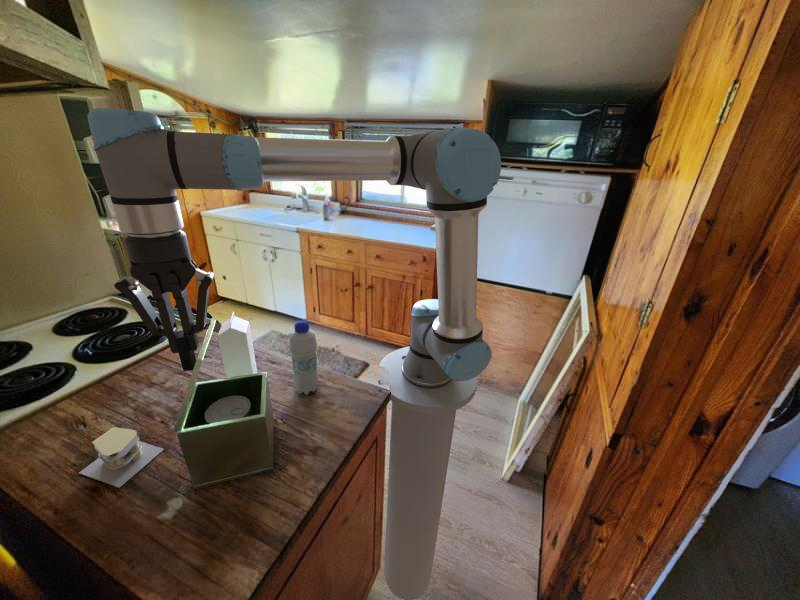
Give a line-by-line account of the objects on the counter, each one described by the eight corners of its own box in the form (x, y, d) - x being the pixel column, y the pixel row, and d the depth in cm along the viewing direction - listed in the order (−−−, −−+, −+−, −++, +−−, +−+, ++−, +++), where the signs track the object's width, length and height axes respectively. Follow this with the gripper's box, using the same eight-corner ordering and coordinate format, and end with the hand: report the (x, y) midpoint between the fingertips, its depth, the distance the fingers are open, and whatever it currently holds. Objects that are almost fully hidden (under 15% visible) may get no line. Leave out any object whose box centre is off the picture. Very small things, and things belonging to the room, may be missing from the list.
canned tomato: (206, 465, 63) (194, 422, 58) (229, 433, 70) (220, 393, 66) (245, 470, 62) (236, 427, 58) (264, 437, 70) (258, 397, 65)
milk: (231, 402, 80) (213, 323, 71) (235, 386, 85) (219, 311, 76) (257, 398, 82) (243, 321, 73) (259, 382, 87) (247, 309, 78)
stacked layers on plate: (78, 473, 61) (68, 452, 59) (126, 437, 69) (119, 417, 67) (119, 488, 59) (109, 466, 57) (164, 449, 67) (157, 429, 64)
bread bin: (273, 420, 75) (266, 371, 70) (273, 470, 64) (264, 416, 58) (207, 433, 71) (194, 382, 65) (194, 489, 59) (176, 433, 54)
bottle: (306, 377, 90) (301, 313, 82) (325, 386, 87) (321, 320, 79) (287, 391, 84) (280, 323, 76) (306, 401, 81) (300, 331, 73)
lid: (216, 320, 62) (211, 319, 61) (202, 359, 50) (196, 358, 50) (195, 381, 65) (191, 380, 65) (178, 431, 54) (173, 431, 53)
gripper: (209, 225, 52) (233, 349, 62) (111, 227, 48) (153, 359, 58) (200, 236, 46) (228, 372, 56) (85, 239, 42) (137, 386, 51)
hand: (190, 365), depth 57 cm, fingers closed
